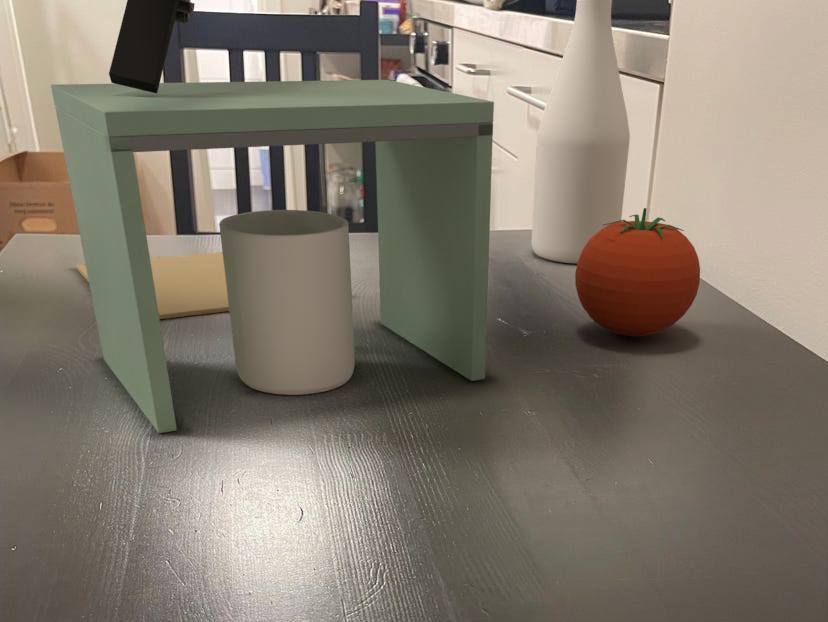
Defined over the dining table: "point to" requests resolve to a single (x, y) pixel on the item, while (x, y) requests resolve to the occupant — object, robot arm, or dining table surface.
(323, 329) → the mug
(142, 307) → the shelf compartment
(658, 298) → the tomato
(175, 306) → the mat
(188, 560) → the dining table surface
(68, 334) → the dining table surface
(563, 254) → the wine bottle
